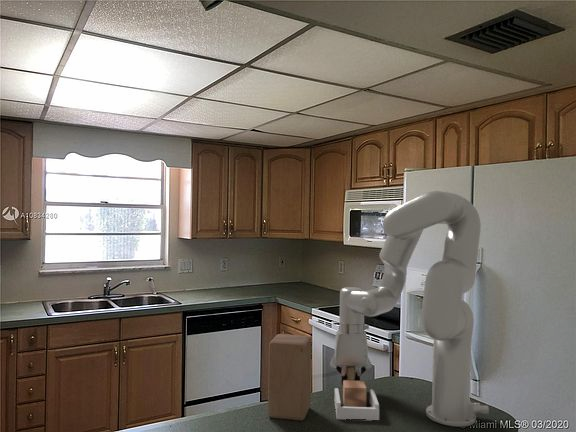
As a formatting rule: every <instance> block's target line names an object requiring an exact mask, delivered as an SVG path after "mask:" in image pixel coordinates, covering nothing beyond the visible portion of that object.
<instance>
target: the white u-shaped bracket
mask: <svg viewBox="0 0 576 432" xmlns="http://www.w3.org/2000/svg"><path fill="white" fill-rule="evenodd" d="M339 391H340V390H339V388H338V387H334V399H333V400H334V402H335V403H334V408H335V409H336V410H335V409H334V410H335V415H336V416H335V417H336V420H346V419H350V420H351V419H366V420H365V421H372V420H379V421H380V404H379V401H378V398H377V395H376V392H375V390H374V389H372V388H371V389H369V407H367V406H366V407H347V406H344V405H342V406H341V403H342V402H341V397H340V392H339ZM370 405H371V406H370ZM351 421H352V420H351Z"/></svg>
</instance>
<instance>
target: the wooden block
mask: <svg viewBox="0 0 576 432" xmlns="http://www.w3.org/2000/svg"><path fill="white" fill-rule="evenodd" d="M311 370H312V338H311V336H309V335H304V334H303V335H299V334H287V333H279V334H278V333H277V334H276V335H275V336H274V337H273V339H272V340H271V341H270V342H269V344H268V382H267V383H268V388H267V389H268V390H267V397H268V398H267V415H268V417H269V418H275V419H283V420H284V419H285V420H293V421H305V419H306V416H307V414H308V412H309V409H310V407H311V383H312V381H311V379H312V378H311V376H312V375H311V373H312V371H311Z"/></svg>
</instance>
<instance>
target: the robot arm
mask: <svg viewBox="0 0 576 432" xmlns="http://www.w3.org/2000/svg"><path fill="white" fill-rule="evenodd" d="M435 225H447V228H448V229H447V233H446V236H445V239H444V246H443V253H442V259H441V260H438V261H436V262H435V263H434V264H432V266H430V267H429V270H428V271H427V273H426V277H425V281H424V286H423V287H424V289H423V296H422V297H423V298H422V305H421V312H420V321H421V325H422V329H423V331H424V332H425V333H426V334H427V336H428V337H430V338H431V339H433V347H432V383H431V384H432V385H431V387H432V388H431V389H432V394H431V395H432V396H431V400H432V401H431V404H430V405H429V406H427V407H426V409H425V414H426V416H427V417H428V418H429V419H430V420H431V421H433V422H435V423H438V424H441V425H445V426H450V427H460V428H461V427H469V426H472V425H474V424H475V423H476V421H477V416H476V415H477V413H481V414H489V412H490V408H489V405H482V404H481V402H472V401H471V360H472V359H471V357H472V355H471V354H472V353H471V351H472V340H473V339H472V338H473V333H474V332H473V331H474V318H475V317H474V313H473V310H472V308H471V306H470V305H469V304H468V303H467V302H466V301H464V300H463V299H462V298H463V294H466V293H467V292H469V291H470V290H472V288H473V287H474V284H475V280H476V271H477V263H478V257H479V255H478V254H479V244H480V236H481V217H480V214H479V212H478V210H477V209H476V206H474V205H473V204H472V202H471V201H469V200H468V199H467V198H465V197H463V196H461V195H460V194H457V193H452V192H448V191H447V192H446V191H439V190H433V191H429V192H426V193H425V192H424V193H423V194H421V195H419V196H416V197H415V198H413V199H411V200H408V201H407V202H404V203H402V204H400V205H397V206H395V207H394V208H392V209H390V210H389V211H388V212H387V213H386V214H385V216H384V218H383V220H382V229H383V231H384V234H385V235H387V236H386V239H385V241H384V243H383V246H382V248H381V250H380V252H379V259H380V260H381V261H382V263H383V265H384V269H383V270H384V272H383V275H382V278H381V281H380V282H379V285H378V286H377V288H373V289H368V290H364V289H363V288H360V287H355V286H348V287H347V286H345V287H343V288H341V289H340V291H339V327H338V329H339V330H337V331H336V333H335V337H334V338H335V339H334V351H333V352H334V353H333V357H332V358H331V360H330V363H329V367H332V368H333V369H334V370H336V371H337V372H338V373H339V374H340V375H341V383H340V384H341V386H343V380H347V376H346V366H355V367H356V369H355V381H361V376H362V375H363V374H364V373H365V372H366V371H367V370H369V369H371V368H373V365H372V362H371V360H370V358H369V348H368V346H369V345H368V335H367V332H366V330H370V325H369V324H366V323H365V316H366V317H376V316H379V315H381V314H386V313H387V312H390V311H392V310H393V309H394V308H395V306H397V305H396V304H397V303H398V301H399V299H400V297H401V295H402V292H403V290H404V288H405V284H406V280H407V275H408V274H407V273H408V272H407V270H408V269H407V268H408V266H409V263H410V260H411V258H412V257H413V256H412V255H413V253H414V251H415V249H416V246H417V245H418V242H419V241H420V238H421V236H422V234H423V231H424V230H425V229H427V228H430V227H433V226H435Z"/></svg>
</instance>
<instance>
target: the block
mask: <svg viewBox="0 0 576 432" xmlns="http://www.w3.org/2000/svg"><path fill="white" fill-rule="evenodd" d="M345 372H346V376H347V380H343V385H342V401H343V406H347V407H367V386H366V383H365V381H364V380H360V381H355V373H356V366H346V371H345Z"/></svg>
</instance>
